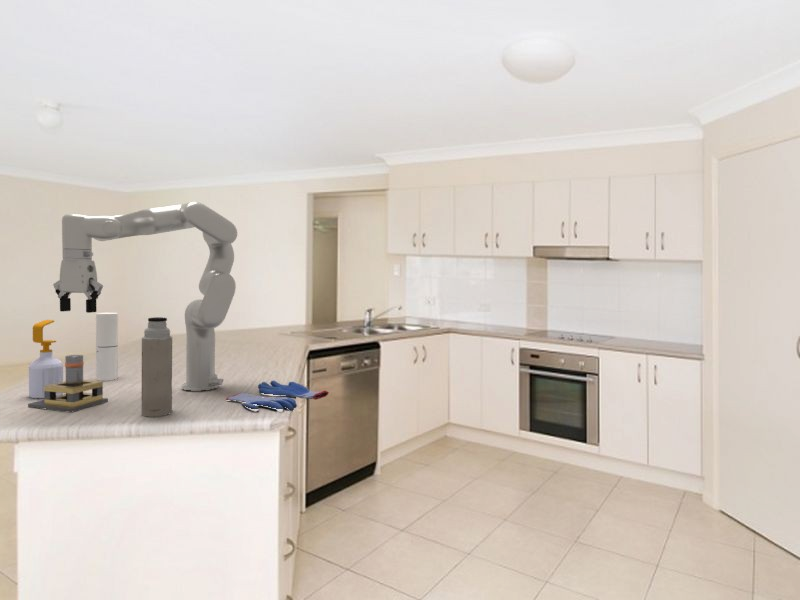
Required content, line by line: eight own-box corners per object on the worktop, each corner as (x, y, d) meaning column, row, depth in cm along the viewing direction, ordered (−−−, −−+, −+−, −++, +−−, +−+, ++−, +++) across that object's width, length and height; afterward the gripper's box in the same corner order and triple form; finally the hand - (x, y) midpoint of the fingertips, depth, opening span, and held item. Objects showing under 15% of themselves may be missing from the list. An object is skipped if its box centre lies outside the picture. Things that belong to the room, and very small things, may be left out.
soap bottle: (69, 393, 165) (69, 320, 163) (42, 400, 156) (41, 322, 155) (50, 391, 168) (50, 318, 166) (22, 397, 159) (21, 320, 158)
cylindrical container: (107, 381, 184) (107, 314, 183) (91, 380, 186) (91, 313, 185) (122, 377, 191) (122, 313, 190) (106, 376, 193) (106, 312, 192)
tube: (87, 400, 153) (87, 355, 152) (74, 404, 149) (73, 357, 148) (75, 399, 154) (75, 354, 154) (61, 402, 150) (61, 356, 149)
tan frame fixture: (107, 401, 156) (107, 381, 156) (71, 412, 144) (70, 389, 143) (67, 397, 160) (67, 377, 160) (28, 407, 148) (27, 385, 147)
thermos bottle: (136, 416, 141) (136, 318, 139) (148, 409, 149) (148, 316, 147) (165, 417, 141) (166, 319, 140) (176, 409, 149) (176, 316, 148)
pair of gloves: (276, 417, 145) (276, 405, 145) (211, 406, 156) (211, 394, 156) (335, 395, 174) (335, 385, 174) (277, 387, 185) (277, 377, 185)
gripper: (110, 256, 153) (111, 311, 154) (65, 255, 157) (66, 309, 158) (90, 255, 145) (91, 313, 146) (43, 254, 149) (44, 311, 150)
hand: (78, 311), depth 152 cm, fingers open, 9 cm apart
